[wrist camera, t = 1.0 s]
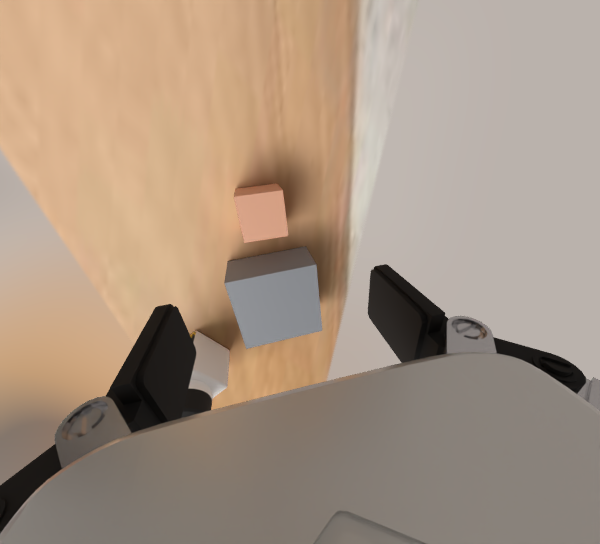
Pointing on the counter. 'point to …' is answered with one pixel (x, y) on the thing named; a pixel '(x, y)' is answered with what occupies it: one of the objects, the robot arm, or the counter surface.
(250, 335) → the grey block
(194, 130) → the counter surface
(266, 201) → the terracotta cube
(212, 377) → the medicine bottle
